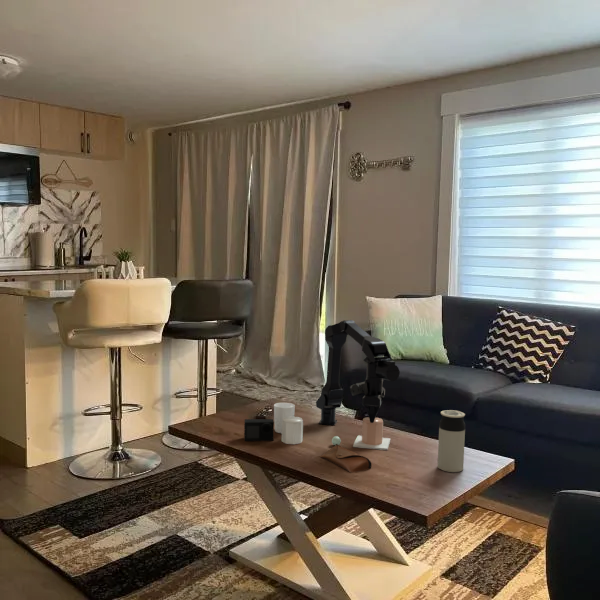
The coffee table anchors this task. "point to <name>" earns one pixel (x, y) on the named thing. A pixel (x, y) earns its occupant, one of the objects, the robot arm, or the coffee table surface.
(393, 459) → the coffee table surface
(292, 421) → the off-white cup
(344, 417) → the coffee table surface
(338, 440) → the pale green marble
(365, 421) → the terracotta cup
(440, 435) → the travel mug
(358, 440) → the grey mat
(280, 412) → the white cup
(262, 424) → the digital camera
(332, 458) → the sunglasses case
